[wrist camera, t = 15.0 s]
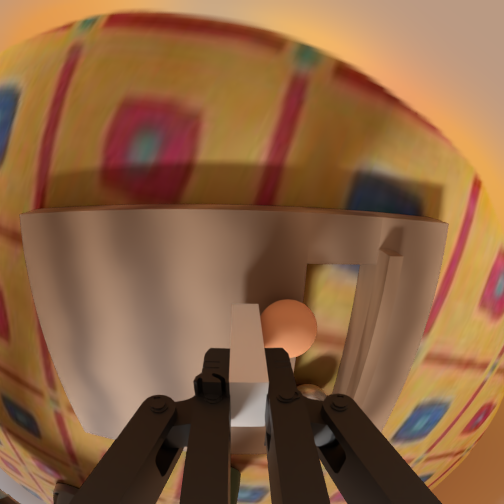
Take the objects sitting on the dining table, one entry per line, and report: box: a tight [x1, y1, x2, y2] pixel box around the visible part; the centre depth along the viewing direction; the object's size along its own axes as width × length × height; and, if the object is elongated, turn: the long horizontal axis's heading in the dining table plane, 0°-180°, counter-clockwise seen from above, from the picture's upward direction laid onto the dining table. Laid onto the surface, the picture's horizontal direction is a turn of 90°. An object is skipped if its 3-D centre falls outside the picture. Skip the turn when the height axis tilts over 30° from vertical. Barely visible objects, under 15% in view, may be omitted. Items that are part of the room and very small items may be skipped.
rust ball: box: [260, 299, 317, 358], centre depth 16 cm, size 3×3×3 cm
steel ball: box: [297, 384, 326, 401], centre depth 21 cm, size 3×3×3 cm
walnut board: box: [20, 204, 449, 454], centre depth 19 cm, size 30×22×4 cm
